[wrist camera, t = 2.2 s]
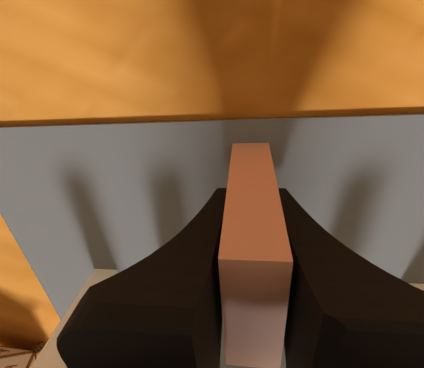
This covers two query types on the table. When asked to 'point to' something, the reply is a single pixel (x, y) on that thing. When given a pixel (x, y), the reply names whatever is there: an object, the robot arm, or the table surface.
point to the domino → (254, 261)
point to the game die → (18, 357)
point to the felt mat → (205, 189)
